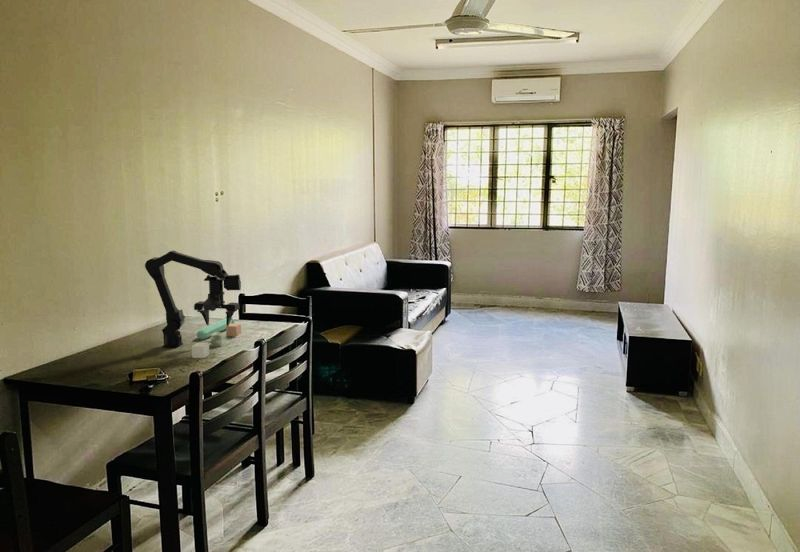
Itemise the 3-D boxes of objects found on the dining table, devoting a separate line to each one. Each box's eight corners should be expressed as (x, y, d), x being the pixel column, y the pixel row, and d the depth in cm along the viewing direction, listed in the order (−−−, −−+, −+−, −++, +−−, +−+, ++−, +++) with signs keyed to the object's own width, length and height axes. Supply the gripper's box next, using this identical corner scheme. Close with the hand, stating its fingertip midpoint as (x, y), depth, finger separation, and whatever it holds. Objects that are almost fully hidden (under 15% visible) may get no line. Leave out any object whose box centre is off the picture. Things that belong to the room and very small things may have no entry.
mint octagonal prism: (202, 327, 266) (231, 314, 290) (192, 331, 268) (222, 318, 292) (207, 339, 267) (236, 325, 290) (197, 343, 269) (226, 329, 292)
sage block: (210, 346, 259) (210, 335, 258) (216, 343, 264) (215, 332, 263) (221, 346, 258) (221, 335, 257) (226, 343, 263) (226, 332, 262)
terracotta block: (226, 336, 274) (226, 326, 273) (230, 333, 279) (230, 323, 278) (236, 336, 274) (236, 326, 273) (241, 334, 279) (240, 323, 278)
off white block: (192, 357, 242) (191, 345, 241) (198, 354, 247) (197, 342, 246) (203, 358, 241) (203, 346, 241) (209, 354, 246) (208, 343, 245)
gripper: (186, 293, 250) (188, 329, 253) (228, 294, 248) (230, 331, 250) (199, 288, 261) (200, 322, 264) (239, 290, 259) (240, 324, 261)
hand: (217, 325), depth 259 cm, fingers open, 9 cm apart
